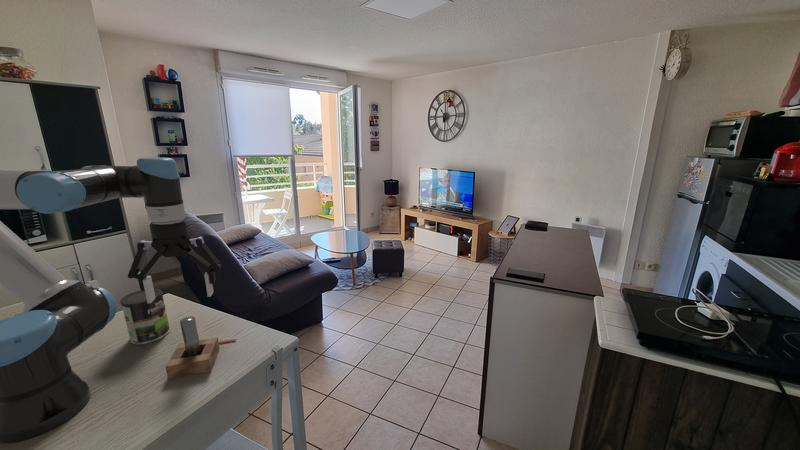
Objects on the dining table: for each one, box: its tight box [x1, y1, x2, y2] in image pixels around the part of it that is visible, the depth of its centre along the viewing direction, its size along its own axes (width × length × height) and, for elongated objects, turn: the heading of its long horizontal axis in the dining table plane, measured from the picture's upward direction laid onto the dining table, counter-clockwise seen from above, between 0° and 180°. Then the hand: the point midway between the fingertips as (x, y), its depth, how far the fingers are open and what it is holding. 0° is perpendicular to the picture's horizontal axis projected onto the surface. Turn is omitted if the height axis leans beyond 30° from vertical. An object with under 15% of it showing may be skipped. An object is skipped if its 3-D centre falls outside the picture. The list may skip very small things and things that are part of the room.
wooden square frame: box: [165, 336, 220, 380], centre depth 87 cm, size 10×10×4 cm
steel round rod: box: [179, 315, 201, 357], centre depth 86 cm, size 3×3×14 cm
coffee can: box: [119, 288, 171, 346], centre depth 98 cm, size 10×10×14 cm
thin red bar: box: [218, 338, 237, 345], centre depth 96 cm, size 14×1×1 cm, turn 107°
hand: (181, 297), depth 82 cm, fingers open, 13 cm apart
